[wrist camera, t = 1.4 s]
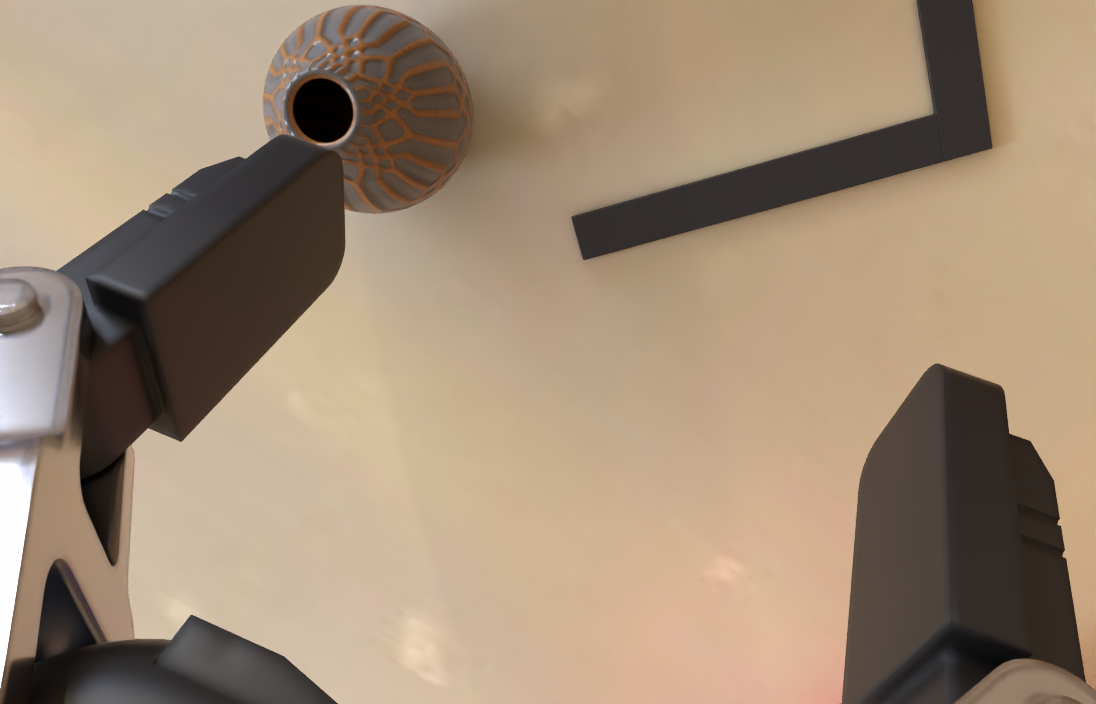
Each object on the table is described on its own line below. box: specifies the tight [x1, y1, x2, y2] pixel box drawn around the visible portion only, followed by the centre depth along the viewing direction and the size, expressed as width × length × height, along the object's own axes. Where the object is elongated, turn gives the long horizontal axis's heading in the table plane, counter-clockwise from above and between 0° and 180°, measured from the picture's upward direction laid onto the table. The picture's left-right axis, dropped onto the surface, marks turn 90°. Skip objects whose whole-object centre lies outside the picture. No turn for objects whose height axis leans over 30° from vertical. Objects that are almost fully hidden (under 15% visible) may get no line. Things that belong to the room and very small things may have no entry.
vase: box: [263, 5, 473, 214], centre depth 27 cm, size 7×7×9 cm
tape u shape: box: [572, 0, 992, 260], centre depth 29 cm, size 15×16×1 cm
